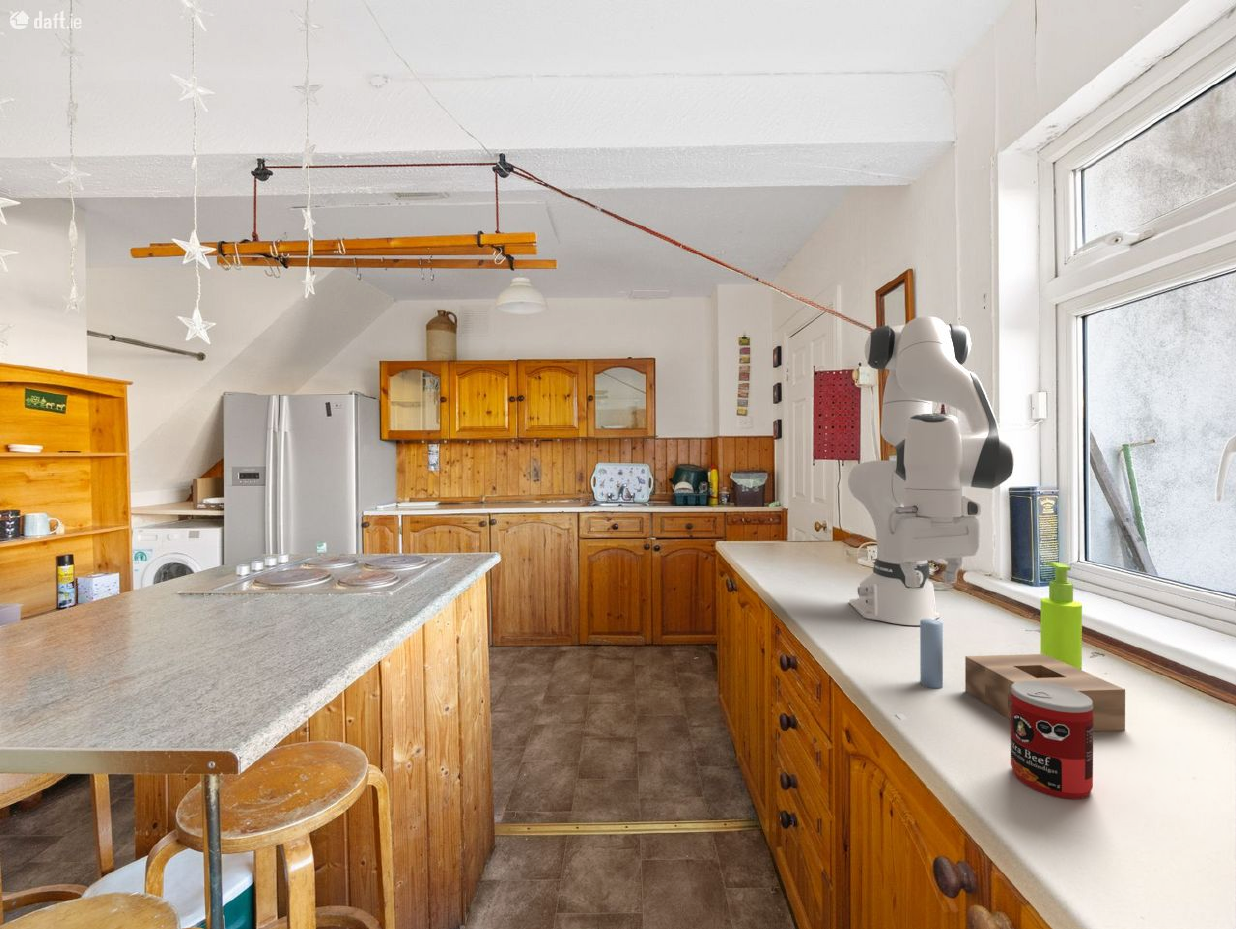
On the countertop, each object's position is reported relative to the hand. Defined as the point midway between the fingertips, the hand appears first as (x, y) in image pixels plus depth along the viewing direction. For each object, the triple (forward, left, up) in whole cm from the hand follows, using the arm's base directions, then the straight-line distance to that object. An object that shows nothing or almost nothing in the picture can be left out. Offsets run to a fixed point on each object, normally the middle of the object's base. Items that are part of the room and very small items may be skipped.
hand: (931, 584), depth 94 cm
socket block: (+10, +11, -18) cm, 23 cm away
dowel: (0, 0, -18) cm, 18 cm away
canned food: (+28, -3, -18) cm, 33 cm away
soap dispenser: (-4, +27, -18) cm, 33 cm away
